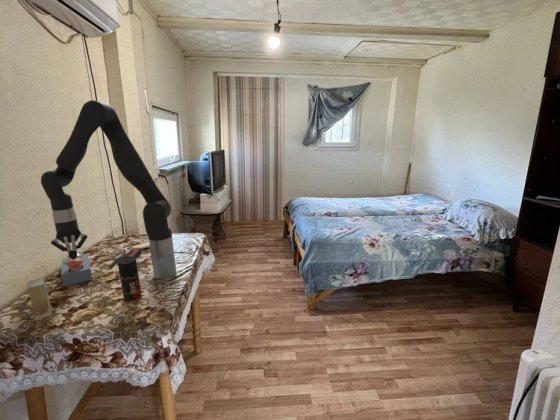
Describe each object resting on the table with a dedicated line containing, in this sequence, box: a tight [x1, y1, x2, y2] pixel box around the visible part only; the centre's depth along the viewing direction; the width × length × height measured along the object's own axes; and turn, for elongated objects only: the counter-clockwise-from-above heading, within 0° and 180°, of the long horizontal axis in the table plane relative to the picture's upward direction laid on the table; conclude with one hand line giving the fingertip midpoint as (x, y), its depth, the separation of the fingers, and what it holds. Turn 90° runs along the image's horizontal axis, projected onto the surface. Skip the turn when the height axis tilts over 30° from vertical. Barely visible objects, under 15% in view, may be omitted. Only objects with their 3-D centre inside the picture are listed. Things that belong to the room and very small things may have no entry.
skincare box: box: [27, 277, 52, 321], centre depth 100 cm, size 6×4×12 cm
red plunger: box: [66, 258, 83, 271], centre depth 125 cm, size 6×6×6 cm
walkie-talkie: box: [107, 247, 142, 269], centre depth 144 cm, size 9×4×20 cm
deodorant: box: [117, 257, 142, 303], centre depth 109 cm, size 6×6×15 cm
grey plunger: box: [66, 252, 83, 260], centre depth 134 cm, size 6×6×6 cm
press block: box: [60, 253, 93, 287], centre depth 130 cm, size 20×10×5 cm, turn 35°
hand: (74, 258), depth 124 cm, fingers closed
